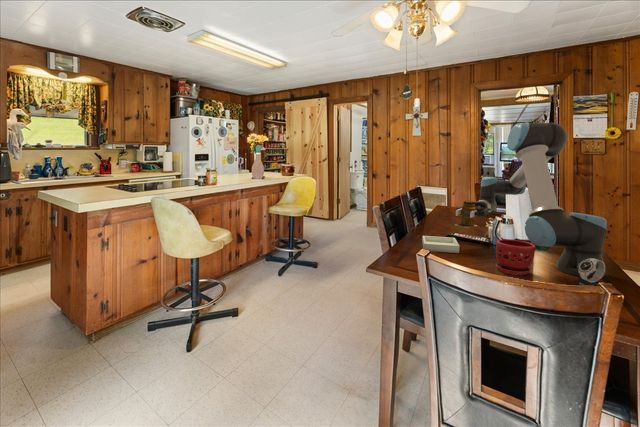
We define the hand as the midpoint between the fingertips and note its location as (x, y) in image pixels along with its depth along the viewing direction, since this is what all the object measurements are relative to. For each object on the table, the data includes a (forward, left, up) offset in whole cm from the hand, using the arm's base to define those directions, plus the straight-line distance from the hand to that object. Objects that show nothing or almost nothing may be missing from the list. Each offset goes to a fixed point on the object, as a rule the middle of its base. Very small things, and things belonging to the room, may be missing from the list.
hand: (463, 213), depth 150 cm
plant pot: (-24, -16, -19) cm, 34 cm away
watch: (-37, -36, -19) cm, 55 cm away
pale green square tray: (+4, +9, -18) cm, 21 cm away
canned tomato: (+14, -39, -19) cm, 45 cm away
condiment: (+5, -2, -7) cm, 9 cm away
